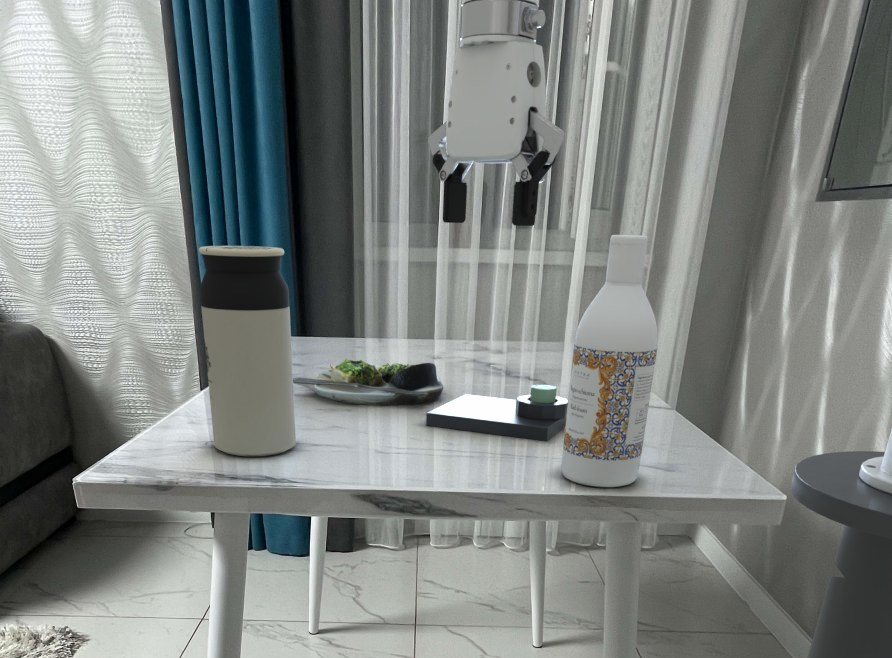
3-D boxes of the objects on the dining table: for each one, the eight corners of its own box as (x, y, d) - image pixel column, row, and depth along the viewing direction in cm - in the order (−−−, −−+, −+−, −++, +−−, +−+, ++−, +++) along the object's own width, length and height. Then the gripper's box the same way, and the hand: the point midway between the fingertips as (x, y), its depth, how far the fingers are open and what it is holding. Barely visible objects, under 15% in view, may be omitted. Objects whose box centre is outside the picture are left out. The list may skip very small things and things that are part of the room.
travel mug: (306, 440, 84) (298, 247, 75) (281, 460, 77) (269, 251, 68) (232, 434, 85) (216, 244, 76) (201, 454, 78) (180, 247, 69)
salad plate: (286, 408, 96) (284, 368, 94) (297, 379, 112) (295, 345, 110) (448, 410, 98) (449, 370, 96) (436, 381, 114) (437, 347, 112)
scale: (578, 419, 95) (581, 393, 94) (549, 441, 85) (552, 413, 84) (465, 405, 100) (466, 380, 99) (425, 425, 91) (426, 398, 89)
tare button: (558, 402, 91) (559, 386, 90) (551, 406, 89) (552, 390, 88) (534, 399, 92) (535, 383, 91) (526, 403, 90) (528, 387, 89)
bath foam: (544, 472, 75) (568, 233, 66) (602, 463, 78) (631, 234, 69) (593, 493, 70) (626, 236, 61) (653, 482, 73) (692, 237, 64)
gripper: (594, 27, 77) (573, 227, 85) (457, 45, 88) (451, 222, 96) (547, 13, 72) (530, 226, 80) (409, 34, 83) (406, 221, 91)
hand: (487, 224), depth 88 cm, fingers open, 9 cm apart
